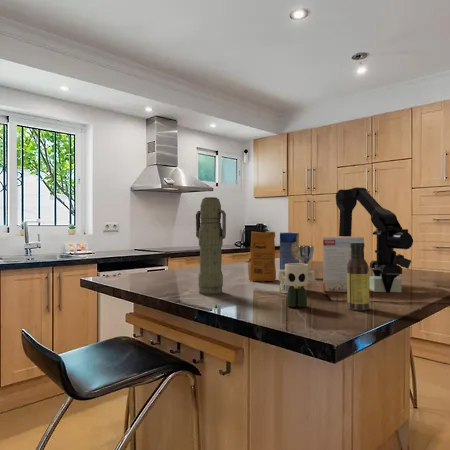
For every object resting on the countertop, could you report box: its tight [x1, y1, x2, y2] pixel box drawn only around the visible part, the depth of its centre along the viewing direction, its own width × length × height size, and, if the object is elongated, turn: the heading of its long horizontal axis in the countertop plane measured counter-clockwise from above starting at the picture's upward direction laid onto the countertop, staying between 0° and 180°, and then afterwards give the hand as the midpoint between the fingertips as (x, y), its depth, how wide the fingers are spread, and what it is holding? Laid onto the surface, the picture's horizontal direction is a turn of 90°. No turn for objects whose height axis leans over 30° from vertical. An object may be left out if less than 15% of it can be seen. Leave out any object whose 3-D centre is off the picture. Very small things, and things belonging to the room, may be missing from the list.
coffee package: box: [247, 231, 277, 282], centre depth 171 cm, size 10×12×22 cm
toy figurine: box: [278, 262, 316, 308], centre depth 116 cm, size 11×7×13 cm, turn 80°
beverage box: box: [279, 232, 300, 294], centre depth 144 cm, size 7×11×22 cm, turn 170°
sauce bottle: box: [346, 242, 371, 312], centre depth 113 cm, size 6×6×20 cm
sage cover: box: [369, 275, 402, 293], centre depth 137 cm, size 9×7×6 cm
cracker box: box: [322, 235, 365, 296], centre depth 137 cm, size 14×6×21 cm, turn 74°
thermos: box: [195, 196, 227, 296], centre depth 140 cm, size 9×12×35 cm
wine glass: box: [299, 245, 315, 278], centre depth 179 cm, size 8×8×15 cm
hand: (384, 290), depth 137 cm, fingers closed on sage cover, 7 cm apart
